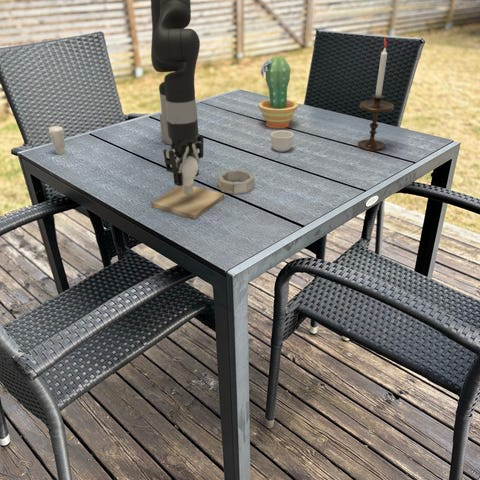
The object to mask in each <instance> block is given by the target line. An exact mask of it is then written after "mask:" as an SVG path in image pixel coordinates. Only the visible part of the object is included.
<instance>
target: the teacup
mask: <svg viewBox="0 0 480 480" xmlns="http://www.w3.org/2000/svg"><path fill="white" fill-rule="evenodd" d="M294 134H295V133H293V131H289V130H284V129H283V130H274V131H272V132H271V134H270V144H271V145H270V146H271V147H272V148H273V150H275V151H276V152H282V153H283V152H287V151H289V150H291V148H292V147H293V145H294V139H295V138H294V137H295V136H294Z"/></svg>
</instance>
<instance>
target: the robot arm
mask: <svg viewBox="0 0 480 480" xmlns="http://www.w3.org/2000/svg"><path fill="white" fill-rule="evenodd" d="M191 4H192V3H191V0H150V12H151V13H150V14H151V28H152V29H151V34H152V35H151V47H150V48H151V49H150V50H151V51H150V53H151V54H150V56H151V57H150V58H151V60H150V61H151V65H152V67H153V69H154V70H155V71H156V72H157V73H167V74H165V76H164V79H163V81H162V82H161V83H160V84H159V85H158V92H159V101H160V110H161V114H159V124H160V134H161V141H162V142H164V143H165V144H166V145H169V146H170V148H169V149H166V148H165V149H163V158H164V164H165V169H166V172H168V173H172V176H173V183H174V184H175V186H177V187H178V186H182V185H183V177H182V172H181V171H182V167H183V164H185V161H186V158H187V157H188V156H192V157H194V158H195V159H196V161H197V163H198V164H199V162H200V161H201V160H200V159H203V158H204V136H203V135H202V134H201V135H200V134H199V121H198V107H197V103H196V91H195V73H196V67H197V61H198V57H199V52H200V46H201V42H200V41H201V40H200V38H199V35H198V33H197V31H196V30H195V29H192V28H189V27H188V26H189V25H190V24H191V20H192V11H191V10H192V9H191V8H192V7H191ZM187 27H188V28H187ZM198 150H199V152H198ZM177 158H181V160H177ZM177 163H179V165H178V168H177V166H176V164H177ZM199 173H200V168H199V165H198V172H197V174H196V176H195V177H198V176H199Z"/></svg>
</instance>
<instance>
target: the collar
mask: <svg viewBox="0 0 480 480" xmlns="http://www.w3.org/2000/svg"><path fill="white" fill-rule="evenodd" d="M255 180H256V179H255V175H254V174H253V173H252V172H251V171H248V170H244V169H229V170H224V171H223V172H222V173H219V174H218V175H217V186H218V188H219V190H220V192H221V193H222V192H223V193H227V194H229V195H238V194H240V195H241V194H246V193H247V194H248V193H249V192H250V191H252V190H253V189H255V186H256V184H255V182H256V181H255Z"/></svg>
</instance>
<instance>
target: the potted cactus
mask: <svg viewBox="0 0 480 480" xmlns="http://www.w3.org/2000/svg"><path fill="white" fill-rule="evenodd" d="M291 69H292V68H291V66H290V64H289V63H288V61H287V60H286V57H284V56H283V57H282V56H281V55H280V56H274V57H273V56H272V58H270V59H268V60H266V61H264V63H263V65H262V67H261V69H260V74H261V77H262V78H264V77H265V82H266V84H267V88H268V95H269V99H266V100H262V101H260V102H259V103H257V105H258V106H257V107H258V109H259V110H260V111H261V115H262V117H263V118H264V120H265V121H266V123H265V125H266V127H268V128H270V129H277V130H278V129H285V128H288V127H289V126H290V121H291V120H292V119H293V118H294V115H295V113H296V111H297V110H298V108H299V103H298V102H296V101H294V100H291V99H288V86H289V84H290V83H289V82H290V80H291V79H290V77H291ZM264 73H265V75H264Z"/></svg>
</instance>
